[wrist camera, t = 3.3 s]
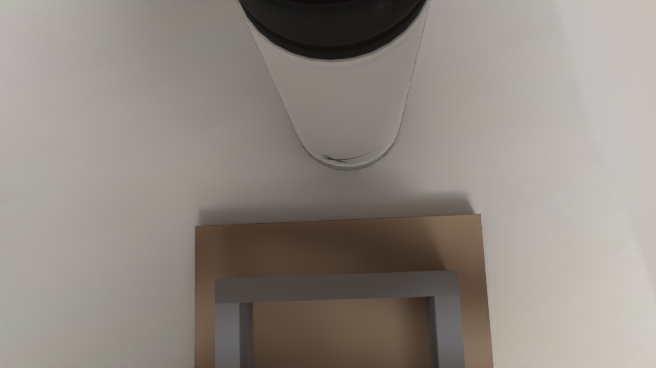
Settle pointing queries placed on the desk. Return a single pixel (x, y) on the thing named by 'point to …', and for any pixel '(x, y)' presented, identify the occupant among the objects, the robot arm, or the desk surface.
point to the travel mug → (340, 70)
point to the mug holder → (343, 294)
